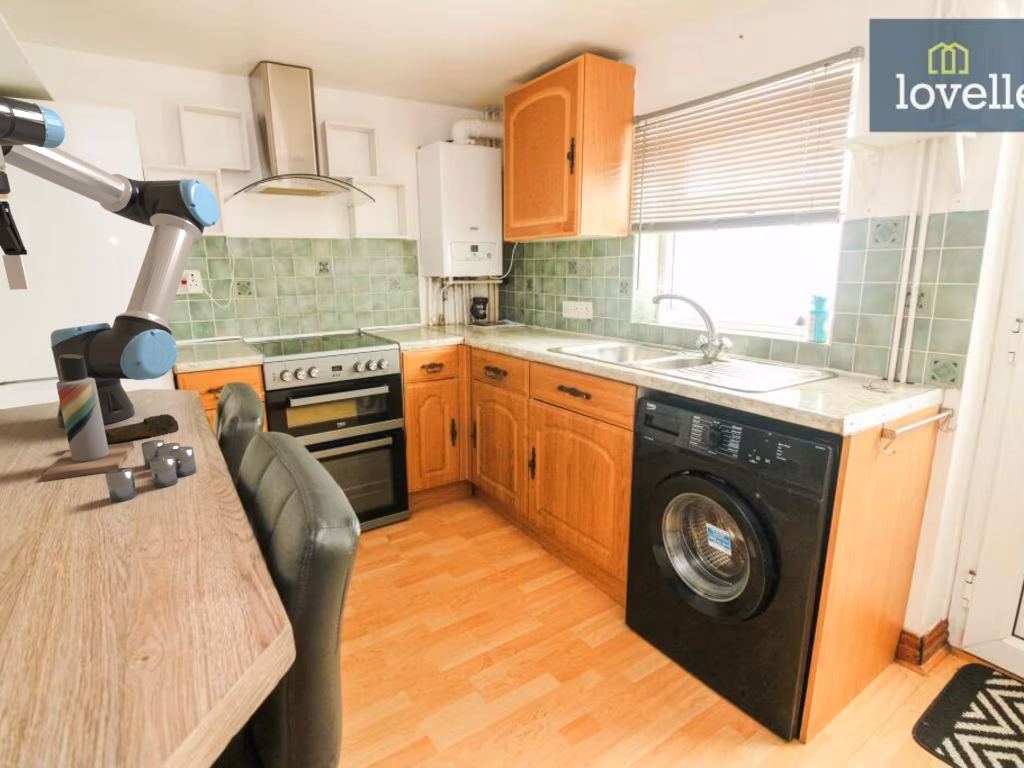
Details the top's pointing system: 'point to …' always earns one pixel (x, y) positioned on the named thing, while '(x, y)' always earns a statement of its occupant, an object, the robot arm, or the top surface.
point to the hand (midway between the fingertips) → (5, 291)
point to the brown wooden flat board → (89, 463)
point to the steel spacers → (153, 469)
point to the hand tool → (143, 429)
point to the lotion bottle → (81, 410)
